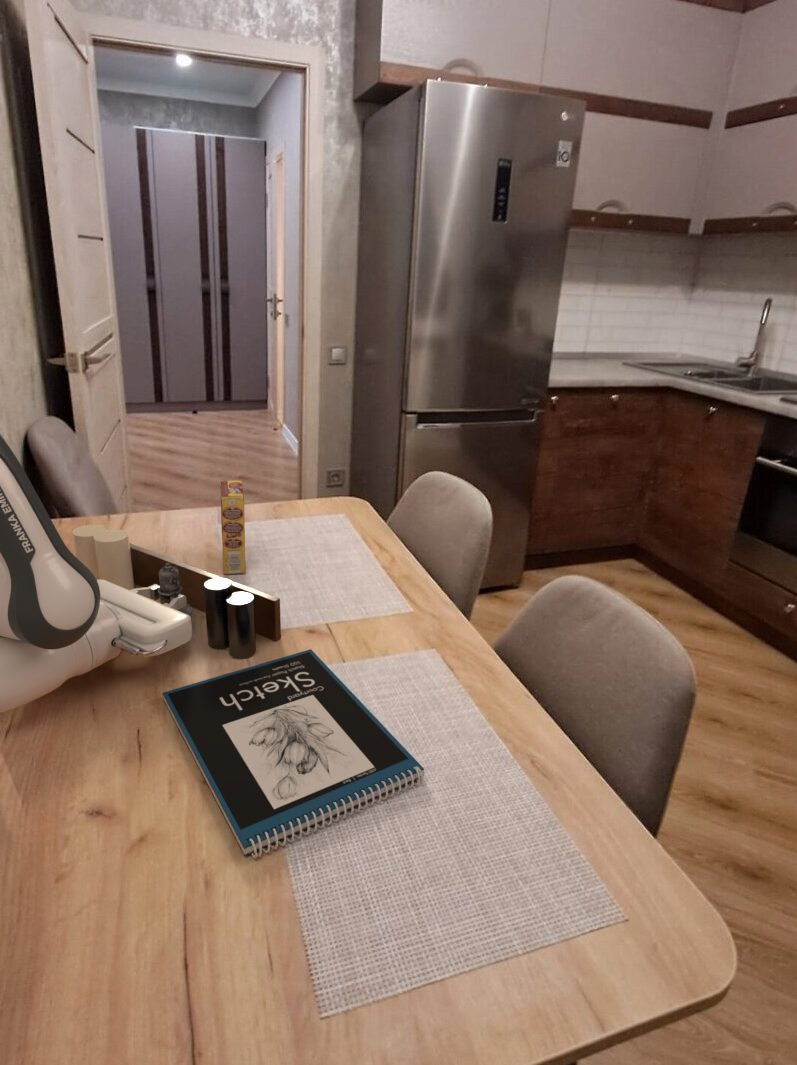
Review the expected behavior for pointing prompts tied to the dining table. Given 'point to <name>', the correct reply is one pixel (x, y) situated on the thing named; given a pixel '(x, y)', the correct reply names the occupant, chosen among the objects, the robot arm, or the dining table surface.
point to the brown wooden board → (193, 588)
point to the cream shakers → (105, 553)
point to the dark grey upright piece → (171, 586)
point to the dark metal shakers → (230, 618)
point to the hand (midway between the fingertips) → (171, 594)
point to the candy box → (233, 527)
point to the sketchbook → (287, 748)
